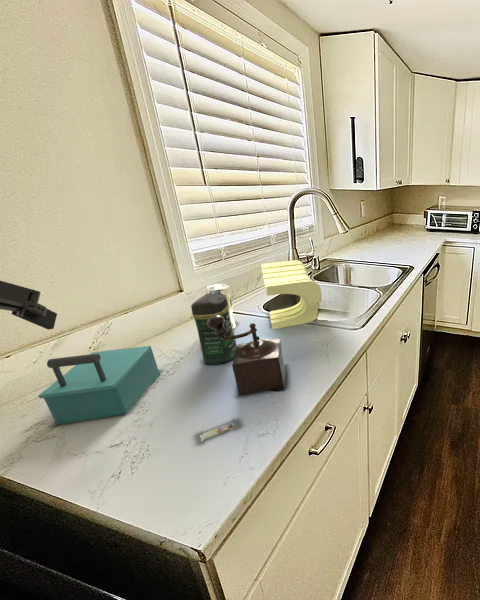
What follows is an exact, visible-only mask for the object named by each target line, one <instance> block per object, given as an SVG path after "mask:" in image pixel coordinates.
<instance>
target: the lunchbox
mask: <svg viewBox="0 0 480 600" xmlns="http://www.w3.org/2000/svg"><path fill="white" fill-rule="evenodd" d="M159 377H160V371H159V367H158V364H157V361H156V358H155V355H154V351H153V349H152V348H151V349H150V350H149V351H148V352H147V353H146V355H145V356H144V357H143V358H142V359H141V360H140V361H139V362H138V363H137V364H136V365H135V366H134V367H133V368H132V370H131V371H130V372H129V373H128V374H127V375H126V376H125V377H124V378H123V379H122V380H121V381H120V382H119V383H118V385H117V386H116V387H115V388H113V389H106V390H98V391H91V392H84V393H77V394H69V395H62V396H55V397H47V398H43V400H44V401H45V404H46V405H47V408H48V410H49V412H50V414H51V416H52V418H53V420H54V422H55V424H56V425H62V424H69V423H75V422H81V421H87V420H94V419H95V420H96V419H101V418H107V417H108V418H109V417H113V416H115V417H116V416H121V415H127V414H128V413H129V412H130V410H131V409H132V407H133V406H134V405H135V404H136V402H137V401H138V400H139V399H140V397H141V396H142V395H143V393H145V391H146V390H147V389H148V387H149V386H150V385H151V386H152V385H153V384H154V383H155V382H156V381H157V379H158V378H159Z"/></svg>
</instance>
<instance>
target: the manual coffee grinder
mask: <svg viewBox="0 0 480 600" xmlns="http://www.w3.org/2000/svg"><path fill="white" fill-rule="evenodd" d="M224 322H225V319H224V317H223V316H221V315H214V316H212V317H210V318H209V319H208V320H207V325H208V327H210V328H212V329H214V330H215V335H220V337H221V339H222V340H225V341H228V340H234V339H235V340H237V339H242V338H244V337H248V336H249V335H251V336H252V340H251V341H249V342H243V343H238V344H237V350H236V352H235V355H234V356H233V358H232V363H231V368H232V371H233V375H234V379H235V384H236V387H237V392H238V397H241V396H249V395H253V394H258V393H263V392H277V393H278V392H283V391H285V388H286V368H285V363H284V356H283V350H282V349H283V348H282V343H281V338H280V337H279V338H272V339H271V338H270V339H267V338H265V339H264V338H263V339H260V337H259V336H258V334H257V331H258V329H257V328H256V323H254V322H252V323H249V328H250V329H249V330H248V331H246V332H243V333H239V334H234V336H231V337H226V336H225V335H224V334H225V333H226V331H227V329H226V328H225V327H224Z"/></svg>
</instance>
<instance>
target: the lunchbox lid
mask: <svg viewBox="0 0 480 600" xmlns="http://www.w3.org/2000/svg"><path fill="white" fill-rule="evenodd" d="M150 349H152V346H151V345H144V346H136V347H135V346H134V347H127V348H126V347H125V348H117V349H108V350H102V351H101V350H100V351H92V352H91V353H89V354H82V355H73V356H64V357H56V358H55V357H54V358H49V359H48V360H47V361H46V365H47V366H46V367H48V368H49V369H52V371H53V373H54V375H55V377H56V379H57V380H56V381H55V382H53V383H52V384H50V386H48V387H47V388H46V389H45V390H43V391H41V393H39V394H38V398H39V399H44V398H47V397H55V396H62V395H69V394H77V393H84V392H91V391H98V390H106V389H113V388H115V387H116V386H117V385H118V383H119V382H120V381H121V380H122V379H123V378H124V377H125V376H126V375H127V374H128V373H129V372H130V371H131V370H132V368H133V367H134V366H135V365H136V364H137V363H138V362H139V361H140V360H141V359H142V358H143V357H144V356H145V355H146V353H147V352H148V351H149V350H150ZM70 366H73V367H72V368H70V369H69V370H68V371H67V372H65V374H63V373H62V371H61V367H70Z"/></svg>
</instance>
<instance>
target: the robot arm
mask: <svg viewBox="0 0 480 600" xmlns="http://www.w3.org/2000/svg"><path fill="white" fill-rule="evenodd" d="M40 297H41V291H39V290H36V289H32V288H28V287H25V286H21V285H18V284H14V283H11V282H7V281H3V280H0V310H2V311H3V310H4V311H8V312H9V311H10V312H11V315H12V316H15V318H16V317H17V318H20V319H22V320H24V321H27V322H29V323H31V324H34V325H36V326H39V327H41V328H43V329H46V330H54V328H55V325H56V321H57V320H56V319H57V316H58V313H57V312H55V311H53V310H51V309H49V308H47V307H46V306H44V305H43V304H41V303H39V300H40Z"/></svg>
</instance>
